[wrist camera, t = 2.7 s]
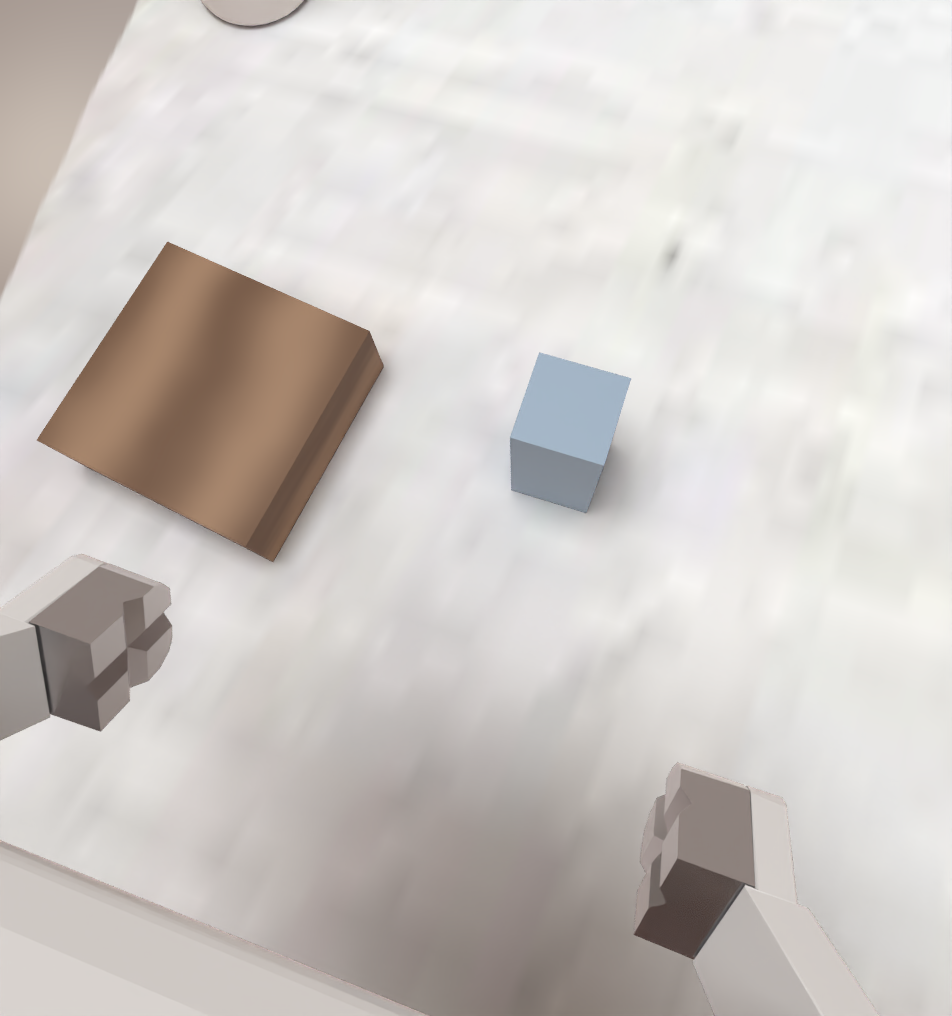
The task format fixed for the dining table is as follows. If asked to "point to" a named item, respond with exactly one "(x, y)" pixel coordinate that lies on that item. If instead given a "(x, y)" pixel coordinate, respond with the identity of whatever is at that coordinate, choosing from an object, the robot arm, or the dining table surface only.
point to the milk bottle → (251, 10)
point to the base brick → (217, 398)
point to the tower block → (565, 431)
